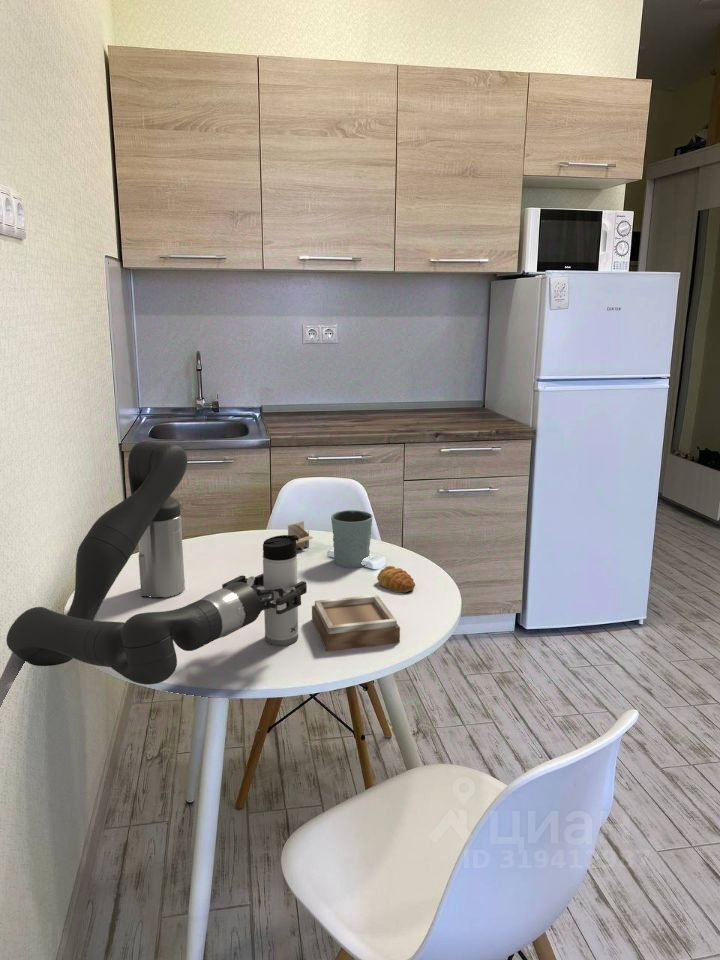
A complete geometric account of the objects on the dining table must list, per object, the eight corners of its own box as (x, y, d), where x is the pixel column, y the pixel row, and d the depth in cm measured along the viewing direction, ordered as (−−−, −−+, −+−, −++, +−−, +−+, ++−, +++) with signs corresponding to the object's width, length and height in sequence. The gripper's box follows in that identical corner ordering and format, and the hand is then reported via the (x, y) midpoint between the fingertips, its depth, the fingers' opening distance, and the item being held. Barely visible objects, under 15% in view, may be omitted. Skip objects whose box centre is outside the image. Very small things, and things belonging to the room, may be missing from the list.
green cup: (367, 554, 182) (367, 509, 179) (376, 567, 172) (377, 520, 169) (328, 556, 180) (327, 511, 177) (335, 570, 170) (335, 522, 167)
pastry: (422, 590, 159) (423, 574, 158) (398, 597, 155) (399, 580, 154) (396, 577, 166) (397, 562, 165) (373, 584, 162) (373, 568, 162)
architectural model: (313, 550, 186) (313, 523, 184) (294, 557, 181) (293, 529, 179) (304, 547, 188) (303, 520, 186) (284, 554, 183) (284, 526, 181)
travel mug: (303, 643, 132) (301, 541, 128) (268, 648, 131) (265, 544, 126) (296, 629, 138) (294, 531, 134) (262, 633, 136) (259, 534, 132)
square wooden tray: (326, 650, 130) (326, 629, 129) (312, 619, 143) (311, 600, 142) (399, 642, 133) (400, 621, 132) (378, 612, 146) (379, 593, 145)
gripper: (197, 621, 124) (258, 592, 138) (258, 641, 117) (317, 608, 130) (195, 581, 123) (257, 555, 136) (257, 599, 115) (317, 570, 128)
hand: (286, 581), depth 133 cm, fingers open, 8 cm apart
